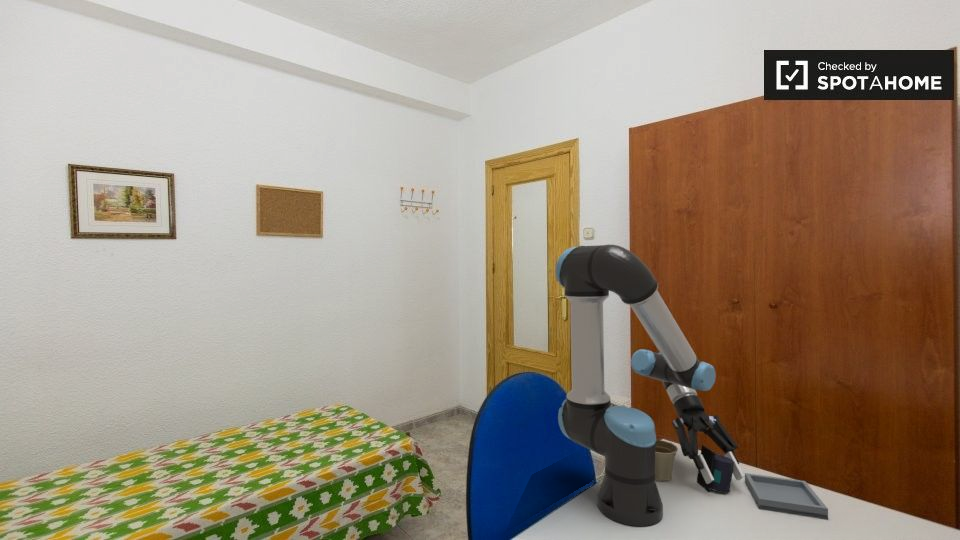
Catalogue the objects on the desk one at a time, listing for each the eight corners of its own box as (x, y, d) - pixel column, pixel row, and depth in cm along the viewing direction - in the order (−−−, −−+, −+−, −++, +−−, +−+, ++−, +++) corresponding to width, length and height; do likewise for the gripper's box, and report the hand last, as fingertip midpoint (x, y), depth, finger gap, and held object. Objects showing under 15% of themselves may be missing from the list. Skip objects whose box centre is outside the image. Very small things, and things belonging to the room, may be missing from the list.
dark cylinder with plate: (701, 491, 115) (705, 452, 115) (696, 482, 120) (700, 444, 120) (733, 498, 113) (737, 458, 113) (726, 488, 118) (730, 450, 119)
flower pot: (681, 486, 118) (681, 454, 118) (644, 482, 120) (644, 451, 120) (673, 470, 127) (673, 440, 127) (639, 467, 129) (639, 438, 129)
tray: (759, 508, 107) (759, 498, 107) (744, 482, 120) (744, 473, 120) (827, 519, 103) (828, 508, 103) (805, 490, 116) (805, 481, 116)
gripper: (710, 404, 134) (752, 481, 119) (647, 408, 130) (682, 489, 115) (723, 391, 129) (768, 470, 113) (658, 395, 125) (696, 478, 109)
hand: (725, 480), depth 114 cm, fingers open, 8 cm apart
